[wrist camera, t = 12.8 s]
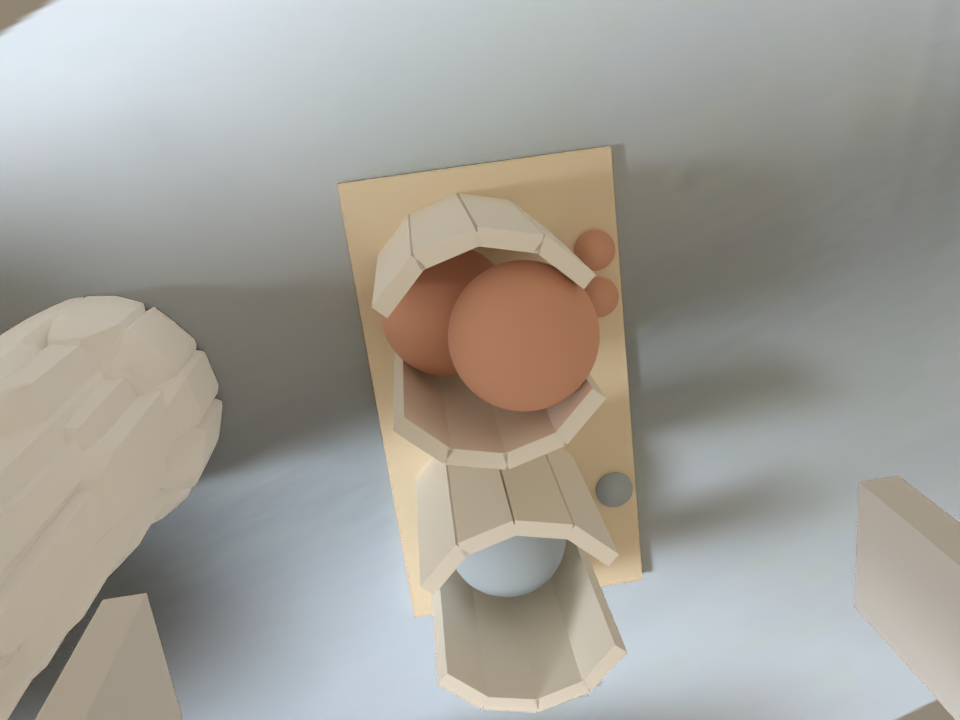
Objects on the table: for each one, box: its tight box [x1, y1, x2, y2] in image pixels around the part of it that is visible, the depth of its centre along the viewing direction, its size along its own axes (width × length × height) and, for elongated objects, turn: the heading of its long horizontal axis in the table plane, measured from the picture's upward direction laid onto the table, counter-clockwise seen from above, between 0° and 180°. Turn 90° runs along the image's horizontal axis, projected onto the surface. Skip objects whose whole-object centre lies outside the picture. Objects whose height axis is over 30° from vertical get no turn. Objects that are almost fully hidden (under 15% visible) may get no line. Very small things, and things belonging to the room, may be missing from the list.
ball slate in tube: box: [456, 536, 566, 598], centre depth 42 cm, size 6×6×6 cm
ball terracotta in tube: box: [380, 250, 495, 376], centre depth 38 cm, size 6×6×6 cm
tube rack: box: [337, 146, 642, 713], centre depth 38 cm, size 13×24×11 cm, turn 7°
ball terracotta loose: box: [448, 260, 600, 412], centre depth 33 cm, size 6×6×6 cm
